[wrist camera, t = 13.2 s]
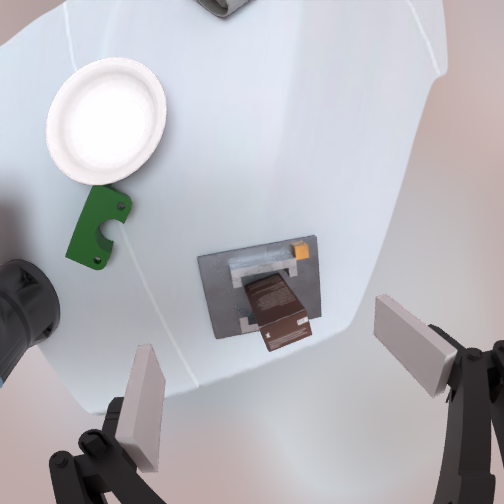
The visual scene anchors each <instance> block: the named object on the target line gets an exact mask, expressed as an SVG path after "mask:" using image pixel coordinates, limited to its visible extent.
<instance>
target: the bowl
mask: <svg viewBox="0 0 504 504" xmlns="http://www.w3.org/2000/svg"><path fill="white" fill-rule="evenodd" d="M166 115H167V106H166V97H165V94H164V91H163V87H162V85H161V84H160V82H159V80H158V78H157V77H156V76H155V75H154V74H153V73H152V71H151V70H150V69H148V68H147V67H145V66H144V65H142V64H141V63H139V62H136V61H133V60H131V59H127V58H119V57H115V58H105V59H101V60H98V61H94V62H92V63H90V64H88V65H86V66H84V67H82V68H81V69H79V70H78V71H77V72H75V73H74V74H73V75H71V76H70V77H69V79H68V80H67V81H66V82H65V83H64V84H63V85H62V86H61V88H60V89H59V91H58V92H57V94H56V95H55V97H54V99H53V101H52V104H51V106H50V109H49V112H48V116H47V122H46V142H47V146H48V150H49V153H50V155H51V157H52V159H53V161H54V163H55V164H56V166H57V167H58V168H59V169H60V171H62V172H63V173H64V174H65V175H66V176H68V177H69V178H71V179H73V180H75V181H77V182H79V183H83V184H88V185H105V184H110V183H114V182H117V181H119V180H121V179H124V178H126V177H127V176H129V175H130V174H132V173H133V172H135V171H137V170H138V169H139V168H140V167H141V166H142V165H143V164H144V163H145V162H146V161H147V160H148V159H149V157H150V156H151V155H152V153H153V152H154V151H155V149H156V147H157V145H158V143H159V141H160V139H161V137H162V134H163V131H164V127H165V124H166Z"/></svg>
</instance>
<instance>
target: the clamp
mask: <svg viewBox="0 0 504 504" xmlns="http://www.w3.org/2000/svg"><path fill="white" fill-rule="evenodd" d="M110 186H111V183H110V184H105V185H93V187H92V189H91V192H90V194H89V196H88V198H87V201H86V203H85V205H84V208H83V210H82V213H81V215H80V218H79V220H78V223H77V225H76V228H75V231H74V233H73V236H72V239H71V241H70V244H69V247H68V250H67V253H66V256H65V257H67V258H69V259H71V260H73V261H76V262H78V263H80V264H83V265H85V266H87V267H90V268H92V269H94V270H101V269H103V268H104V267H105V266H106V264H107V261H108V259H109V256H110V254H111V250H112V245H113V241H111V240H108V239H106V238H105V237H104V236H103V235H102V234H101V232H100V229H99V224H100V223H102V222H103V221H105V220H108V219H116V220H119V221H121V222H122V223H123V224H124V223H125V220H126V218H127V216H128V214H129V212H130V210H131V199H130V198H129V196H127V195H126V194H124V193H122V192H119V191H117V190H115V189H113V188H111V187H110ZM119 202H123V203H124V204H125V206H124V207H123V208H120V207H118V205H117V204H118V203H119ZM95 257H99V258H100V259H101V260H96V259H95Z"/></svg>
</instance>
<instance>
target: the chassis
mask: <svg viewBox="0 0 504 504" xmlns="http://www.w3.org/2000/svg"><path fill="white" fill-rule="evenodd" d="M198 262H199V267H200V272H201V276H202V281H203V286H204V290H205V295H206V299H207V304H208V308H209V312H210V317H211V321H212V325H213V329H214V333H215V337H216V339H220V338H226V337H231V336H236V335H241V334H246V333H251V332H256V331H260V329H259V327H258V324H257V321H256V318H255V316H254V313H253V310H252V308H251V305H250V302H249V300H248V297H247V294H246V291H245V289H244V286H246V285H248V284H251V283H254V282H256V281H259V280H261V279H264V278H267V277H269V276H272V275H275V274H277V273H280V274H281V276H282V277H283V279H284V280H285V281H286V283H287V284H288V286H289V287H290V288H291V290H292V291H293V292H294V294H295V295H296V296H297V298H298V299H299V301H300V302H301V303H302V305H303V306H304V307H305V308H306V310H307V315H308V319H313V318H318V317H321V295H320V277H319V261H318V247H317V237H316V236H315V235H314V236H308V237H303V238H297V239H292V240H286V241H280V242H275V243H269V244H264V245H258V246H253V247H247V248H242V249H236V250H231V251H226V252H220V253H215V254H209V255H204V256H198Z"/></svg>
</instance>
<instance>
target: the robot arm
mask: <svg viewBox="0 0 504 504" xmlns="http://www.w3.org/2000/svg"><path fill="white" fill-rule="evenodd" d="M59 318H60V307H59V301H58V298H57V295H56V292H55V290H54V288H53V286H52V284H51V283H50V281H49V280H48V278H47V277H46V276H45V275H44V273H43V272H42V271H41V270H39V269H38V268H37V267H36V266H34V265H33V264H31V263H29V262H27V261H24V260H12V261H10V262H8V263H6V264H5V265H3V266H1V267H0V388H1V387H2V386H3V384H4V382H5V381H6V379H7V378H8V376H9V375H10V373H11V372H12V370H13V368H14V367H15V366H16V364H17V363H18V361H19V360H20V358H21V357H22V356H23V354H24V353H25V351H26V350H27V349H28V348H30V347H32V346H34V345H36V344H38V343H40V342H42V341H44V340H46V339H47V338H48V337H50V335H51V334H52V333H53V332H54V330H55V329H56V327H57V325H58V323H59ZM374 336H376V338H377V339H378V340H379V341H380V342H381V343H382V344H383V345H384V346H385V347H386V348H387V349H388V350H389V351H390V352H391V354H393V356H394V357H395V358H396V359H397V360H398V361H399V362H400V363H401V364H402V365H403V366H404V367H405V368H406V370H407V371H408V372H409V373H410V374H411V375H412V376H413V377H414V378H415V379H416V380H417V381H418V383H419V384H420V385H421V386H422V387H423V388H424V389H425V390H426V391H427V392H428V393H429V394H430V396H431V397H432V398H435V397H436V396H438V395H440V394H442V393H444V391H445V388H446V385H447V384H448V385H449V386H450V387H451V389H450V392H449V394H448V397H447V399H446V403H447V402H448V400H449V408H448V420H447V431H446V440H445V447H444V453H443V460H442V466H441V471H440V476H439V481H438V486H437V491H436V495H435V499H434V502H433V504H493V501H494V492H495V475H492V474H491V473H490V463H491V420H492V423H493V426H494V430H495V434H496V437H497V441H498V445H499V449H500V453H501V457H502V462H503V467H504V340H500V341H497V342H495V344H494V346H493V350H490V351H486V352H482V351H481V350H479V349H477V348H467V349H466V348H464V347H463V346H462V345H461V344H459V343H458V342H457V341H456V340H455V339H453V338H452V337H450V336H449V335H448V334H447V333H445V332H444V331H443V330H442V329H440V328H439V327H436V326H434V325H432V324H430V325H428V326H427V325H426V324H425V323H423V322H422V321H421V320H420V319H418V318H417V317H416V316H414V315H413V314H412V313H411V312H409V311H408V310H407V309H405V308H404V307H403V306H401V305H400V304H399V303H398V302H396V301H395V300H394V299H392V298H391V297H390V296H388V295H387V294H383V295H380V296H377V297H376V305H375V321H374ZM165 382H166V381H165V378H164V376H163V373H162V371H161V368H160V366H159V363H158V361H157V358H156V355H155V353H154V350H153V347H152V345H151V344H147V345H139V346H138V349H137V353H136V356H135V360H134V363H133V367H132V370H131V374H130V378H129V381H128V385H127V389H126V393H125V397H115V398H114V399H113V400H112V401H111V403H110V404H109V406H108V409H107V414H106V416H105V420H104V424H103V427H102V431H101V430H98V429H91V430H88V431H86V432H84V433H83V434H82V435H81V437H80V438H79V441H78V445H79V448H80V449H81V450H82V451H83V453H84V454H83V455H78V456H74V457H73V456H72V455H71V454H70V453H69V452H67V451H58V452H56V453H54V454H53V455H52V456H51V458H50V460H49V468H50V474H51V480H52V485H53V489H54V494H55V499H56V503H57V504H108V503H107V500H106V498H105V495H104V493H106V492H110V491H112V492H113V493H114V495H115V496H116V497H117V498H118V500H119V501H120V502H121V504H166V503H165V502H164V501H163V500H162V499H161V498H160V497H159V496H158V495H157V494H156V493H155V492H154V491H153V490H152V489H151V488H150V487H149V486H148V485H147V484H146V483H145V482H144V480H143V479H142V478H141V477H140V476H139V475H138V474H137V473H136V470H137V467H138V468H139V470H140V471H141V472H143V473H145V472H158V460H159V445H160V432H161V421H162V409H163V400H164V390H165Z"/></svg>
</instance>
